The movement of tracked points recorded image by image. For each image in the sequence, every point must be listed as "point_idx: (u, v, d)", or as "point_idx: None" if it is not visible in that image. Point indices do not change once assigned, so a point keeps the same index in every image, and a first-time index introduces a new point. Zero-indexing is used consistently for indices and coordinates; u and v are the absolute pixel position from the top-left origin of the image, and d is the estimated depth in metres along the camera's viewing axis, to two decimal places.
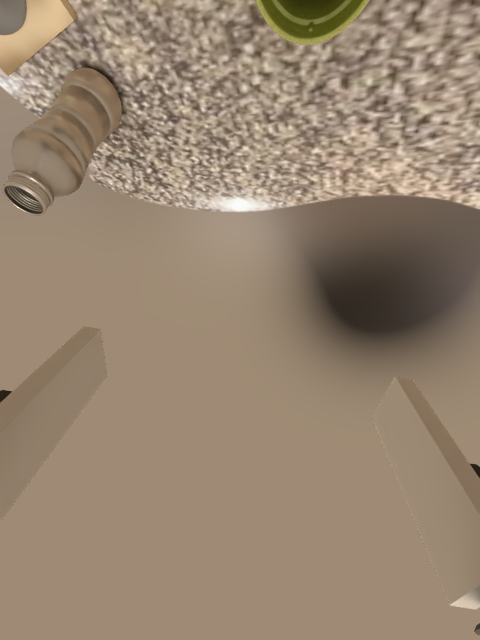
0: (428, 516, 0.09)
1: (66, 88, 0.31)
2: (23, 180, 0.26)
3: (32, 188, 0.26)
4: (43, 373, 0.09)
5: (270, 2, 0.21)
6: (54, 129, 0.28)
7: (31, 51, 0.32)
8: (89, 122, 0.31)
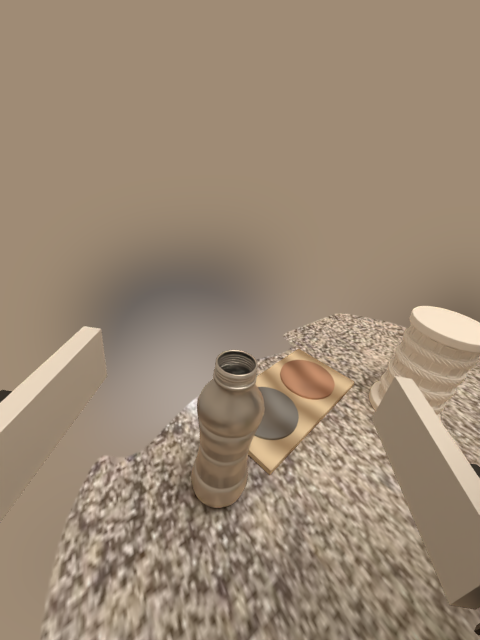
0: (428, 515, 0.09)
1: None
2: None
3: (252, 375, 0.24)
4: (43, 373, 0.09)
5: None
6: None
7: None
8: (241, 462, 0.29)
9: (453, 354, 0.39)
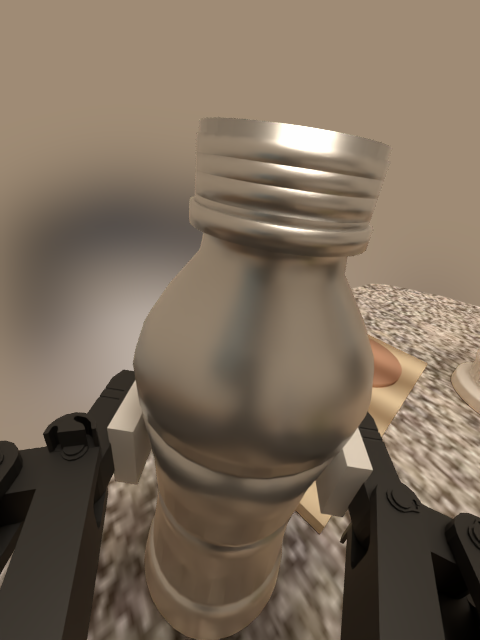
0: None
1: None
2: None
3: None
4: None
5: None
6: None
7: None
8: (278, 535, 0.10)
9: None
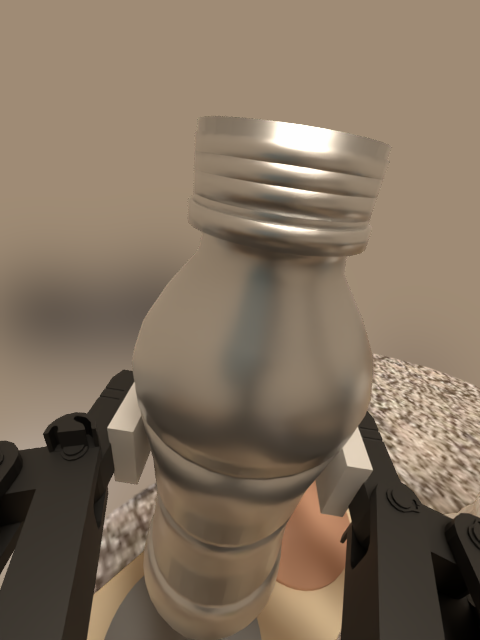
0: None
1: None
2: None
3: None
4: None
5: None
6: None
7: None
8: (277, 536, 0.10)
9: None
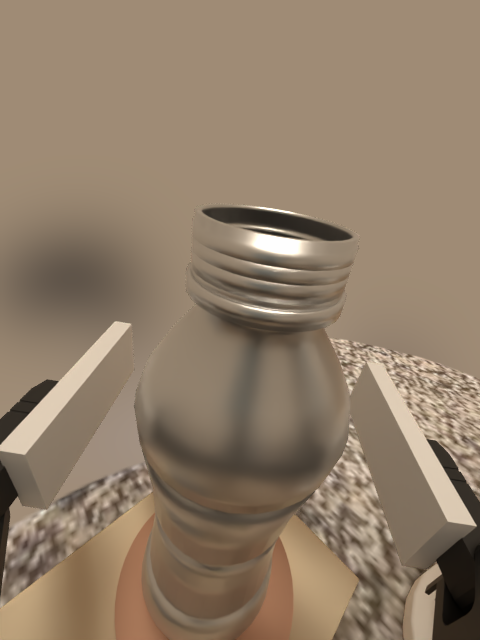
0: (388, 487, 0.10)
1: None
2: None
3: None
4: (85, 364, 0.10)
5: None
6: None
7: None
8: (267, 554, 0.11)
9: None
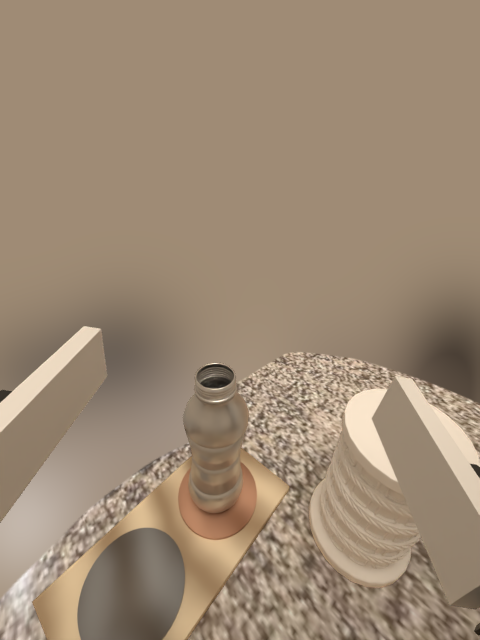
0: (428, 515, 0.09)
1: None
2: (235, 382, 0.26)
3: (231, 387, 0.25)
4: (43, 373, 0.09)
5: None
6: None
7: None
8: (233, 467, 0.30)
9: None
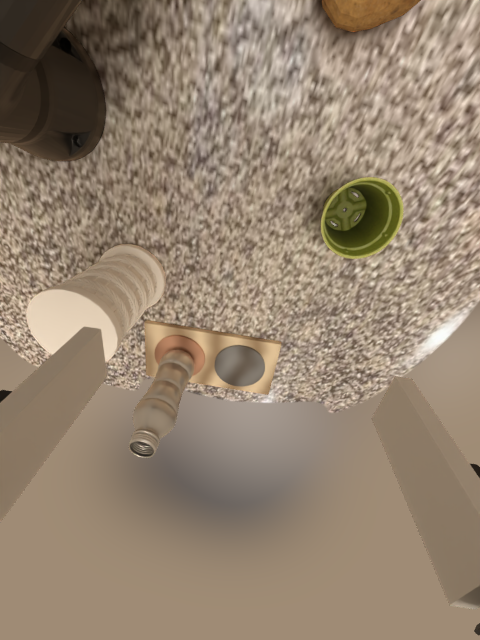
0: (428, 516, 0.09)
1: (157, 372, 0.50)
2: (134, 436, 0.38)
3: (140, 436, 0.37)
4: (43, 373, 0.09)
5: (357, 251, 0.36)
6: (146, 395, 0.43)
7: (272, 374, 0.56)
8: (167, 376, 0.46)
9: (114, 311, 0.34)
